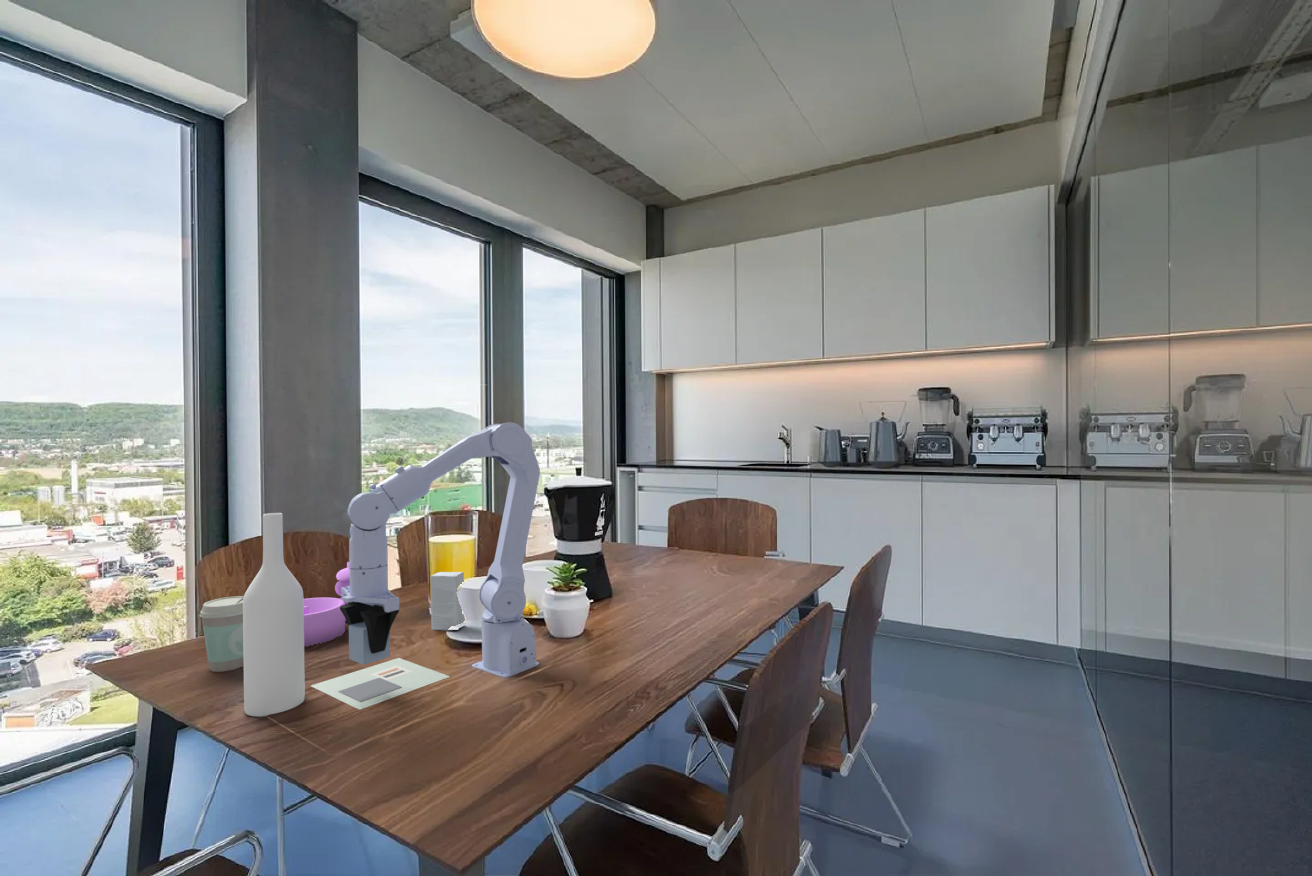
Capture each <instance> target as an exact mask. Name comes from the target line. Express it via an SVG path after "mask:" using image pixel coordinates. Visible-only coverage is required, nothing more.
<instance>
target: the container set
mask: <svg viewBox="0 0 1312 876" xmlns="http://www.w3.org/2000/svg"><path fill="white" fill-rule="evenodd" d="M335 578H336V581H337V580H338V581H337V582H336V583H335V586H334V590H335V593H336V594H337V595H338V596H340V598H337V597H311V598H304V646H306V647H310V645H311V646H315V645H314V644H316V645H319V644H318V643H320V644H323V643H322V642H324V643H327V642H326V641H328V642H330V641H329V640H331V639H333V640H335V639H334V638H336V637H338V636H340V637H342V634H343V633H344V632H345V633H346V622H347V620H346V618H345V617H344V615H343V613H342V612H341V610H340V606H341V605H345V604H348V602H344V601H343V599H341V588H343V587H348V586H350V566H349V561H347V562H346V567H345V568H343V569H340V570H338V572H337V573H336V575H335ZM345 633H344V634H345ZM344 634H343V635H344ZM338 638H339V637H338ZM336 639H337V638H336ZM331 641H332V640H331Z"/></svg>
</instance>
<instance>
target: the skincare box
mask: <svg viewBox="0 0 1312 876" xmlns="http://www.w3.org/2000/svg"><path fill="white" fill-rule="evenodd" d="M464 574H465V573H464V571H458V572H457V571H439V572H438V571H437V572H436V573H434V574H432V575H430V578H429V579H430V581H429V582H430V616H431V617H430V621H431V623H430V625H431V626H430V627H431V630H432V631H435V630H436V631H444V632H448V631H447V630H448V629H449V628H450V627H451V626H456V625H458V624H461V623H463V622H464V621H465V620H466V619H464V616H463V614H462V609H461V606H460V604H459V601H458V597H457V594H456V592H457V588H458V586H459V585H460V584H462V582H464V583H465V580H464V579H465V575H464ZM465 622H466V621H465Z"/></svg>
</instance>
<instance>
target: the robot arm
mask: <svg viewBox="0 0 1312 876" xmlns="http://www.w3.org/2000/svg"><path fill="white" fill-rule="evenodd" d="M488 457H491V458H492V459H494V460H496V461H497V462H498V463H500V465H501V466H502V468H503V469H504V470H505V471H506V473H507V474H508V476H509V477H510V479H509V484H508V488H507V492H506V493H507V494H506V498H505V504H504V508H503V509H504V510H503V513H502V514H503V515H502V518H501V522H500V523H501V524H500V528H499V534H498V539H497V545H496V549H495V554H494V559H493V562H492V563H491V565H490V567H489V568H488V572H487V576H486V578H485V580H484V581H483V582H482V583H481V585H480V587H479V591H478V598H479V601H480V603H481V605H483V606H484V611H482V615H481V654H482V655H481V656H482V657H481V658H482V660H481V661H478V662H475V663H473V664H472V665H471V668H474V669H477V670H479V671H482V672H483V671H484V672H485V673H489V674H492V675H494V676H497V677H501V678H503V679H506V678H509V677H511V676H514V675H517V674H519V673H522V672H524V671H528V670H529V669H532V668H534V667H538V666H540V662H539V661H536V660H537V659H536V655H537V654H536V652H537V651H536V630H535V628H534V626H533V625H532V624H531V623H529V622H528V621H526V619H525V618H524V616H523V614H524V612H523V611H524V610H525V608H526V603H527V597H526V593H525V582H526V577H525V573H524V569H523V564H524V558H525V553H526V548H527V542H528V538H529V532H530V526H531V522H532V517H533V512H534V506H535V501H536V497H537V490H538V485H539V480H540V474H541V468H540V466H539V463H538V460H537V455H536V453H535V451H534V448H533V439H532V437H531V436H530V435H529V434H528V433H527V431H526V430H525V429H524V428H523V426H521V425H519V424H518V423H515V422H504V423H493V424H489V425H488V426H486V427H485V428H484V429H480V430H477V431H475V432H473V433H471V434H469V435H467V436H465V437H463V438H462V439H460V440H459V441H457V442H456V443H454V444H453V445H452V446H450V447H449V448H447V449H446V450H444V451H443V452H441V453H439V454H438V455H436V456H435V457H433V458H432V459H430V460H429V461H427V462H425V463H424V464H423V465H421V466H419V465H418V466H417V465H414V464H408V465H406V466H405V467H403V465H400V466H398V467H396V468H395V469H394V472H395V473H394V474H392V475H390V476H389V477H387V478H385V479H384V480H382V481H380V482H379V483H371V484H370V485H368V488H369V490H370V492H369V491H367V492H361V493H359V494H357V495H355V496H354V497H353V498H352V499H351V501H350V502H349V504H348V508H347V510H346V513H347V516H348V518H349V520H350V521H351V522H352V523H350V528H349V535H350V538H349V539H348V540H349V541H348V542H349V543H348V546H349V547H348V548H349V551H348V552H349V553H348V554H349V559H348V562H349V566H350V586H348V587H343V588H341V596H340V598H341V599H343V601H344V602H348V604H345V605H341V606H340V610H341V612H342V613H343V615H344V617H345V618H346V620H347V621H346V622H347V625H348V626H349V625H352V624H356V623H360V622H365V625H366V628H367V632H368V640H369V647H370V651H371V653H373V654H374V653H377V652H381V651H384V650H385V648H386V644H387V640H388V636H389V632H390V633H391V629H392V626H393V624H394V621H395V619H396V617H397V616H398V614H399V612H400V597H398V596H395V595H394V593H392V592H391V590H390V589H389V572H388V571H389V564H388V563H389V560H388V558H389V557H388V550H389V549H388V547H389V545H388V536H387V522H388V521H389V520H390V519H389V518H390V516H391V514H398V513H399V512H401V511H402V510H404V509H406V508H407V507H408V506H410V505H411V504H413V503H414V502H416V501H418V500H419V499H421V498H423V497H424V496H426V495H427V494H428V493H429V492H430V489H431V485H432V483H433V482H434V481H435V480H437V479H439V478H440V477H442V476H444V475H445V474H447V473H449V472H451V471H452V470H454V469H457V468H458V467H459V466H461V465H463V464H465V463H467V462H468V461H470V460H471V459H475V458H476V459H477V458H488Z"/></svg>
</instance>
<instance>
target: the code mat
mask: <svg viewBox="0 0 1312 876" xmlns="http://www.w3.org/2000/svg"><path fill="white" fill-rule="evenodd" d="M447 678H451V676H449V675H448V674H444V673H442V672H438V671H436V670H434V669H431V668H428V667H425V666H423V665H420V664H417V663H414V662H411V661H410V660H406V659H403V658H400V657H397V658H394V659H391V660H388V661H385V662H381V663H379V664H375V665H372V666H367V667H366V668H363V669H359V670H356V671H353V672H350V673H346V674H343V675H339V676H337V677H336V676H335V677H334V678H331V679H327V680H325V681H321V682H317V683H315V684H312V685H310V687H312V688H313V689H316V690H317V691H320V692H322V693H323V694H325V695H328V696H330V697H332V698H334V699H337V700H338V701H340V702H343V703H345V704H346V705H348V706H351V707H353V708H355V709H357V710H363V709H366V708H369V707H371V706H374V705H377V704H380V703H382V702H385V701H387V700H390V699H393V698H396V697H399V696H401V695H404V694H407V693H409V692H412V691H414V690H417V689H421V688H422V687H426V686H428V685H431V684H434V683H436V682H441V680H445V679H447Z"/></svg>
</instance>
